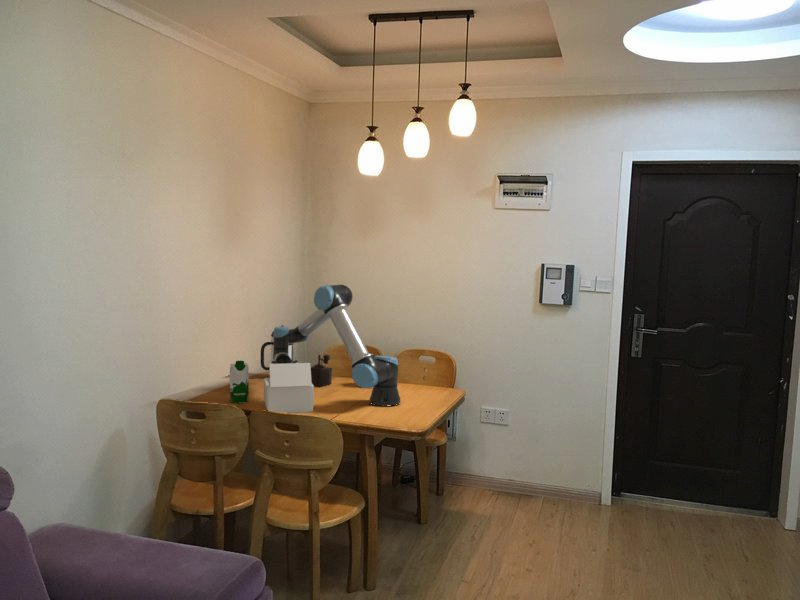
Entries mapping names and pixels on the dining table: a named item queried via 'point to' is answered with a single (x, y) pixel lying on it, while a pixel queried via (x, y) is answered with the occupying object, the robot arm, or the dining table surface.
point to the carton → (288, 398)
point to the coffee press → (290, 351)
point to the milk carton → (239, 382)
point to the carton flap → (290, 375)
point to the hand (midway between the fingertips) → (288, 369)
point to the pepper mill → (321, 373)
